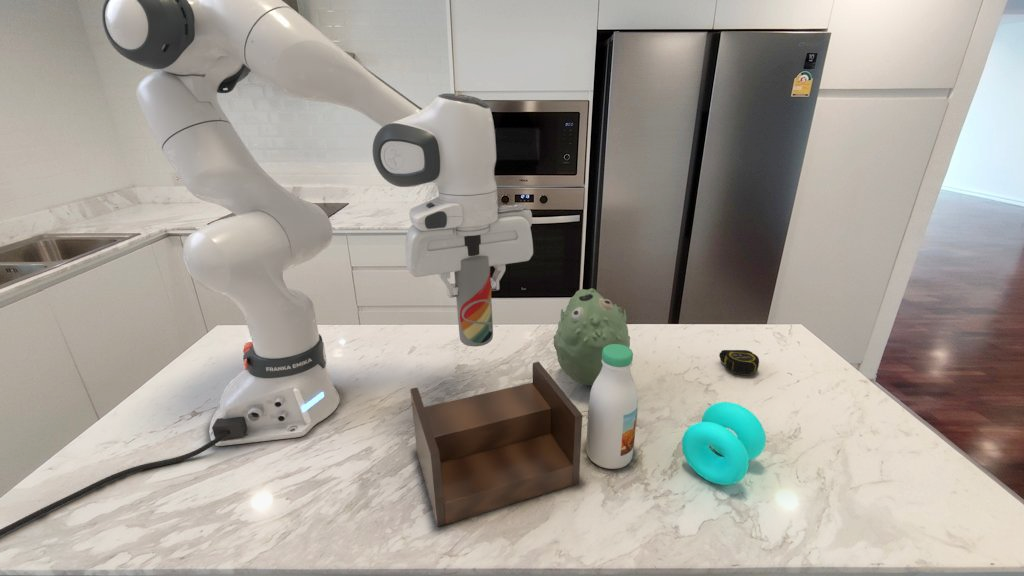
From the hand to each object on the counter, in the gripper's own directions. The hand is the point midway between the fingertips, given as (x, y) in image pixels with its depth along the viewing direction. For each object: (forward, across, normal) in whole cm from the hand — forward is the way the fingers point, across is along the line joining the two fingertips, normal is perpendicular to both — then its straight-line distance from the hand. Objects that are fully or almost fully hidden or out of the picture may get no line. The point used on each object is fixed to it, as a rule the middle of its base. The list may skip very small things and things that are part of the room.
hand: (473, 292), depth 78 cm
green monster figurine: (+27, -26, -6) cm, 38 cm away
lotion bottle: (+9, 0, 0) cm, 9 cm away
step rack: (+26, +1, +11) cm, 29 cm away
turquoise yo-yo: (+27, -33, +25) cm, 49 cm away
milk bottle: (+27, -18, +15) cm, 36 cm away
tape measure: (+27, -58, +3) cm, 64 cm away
